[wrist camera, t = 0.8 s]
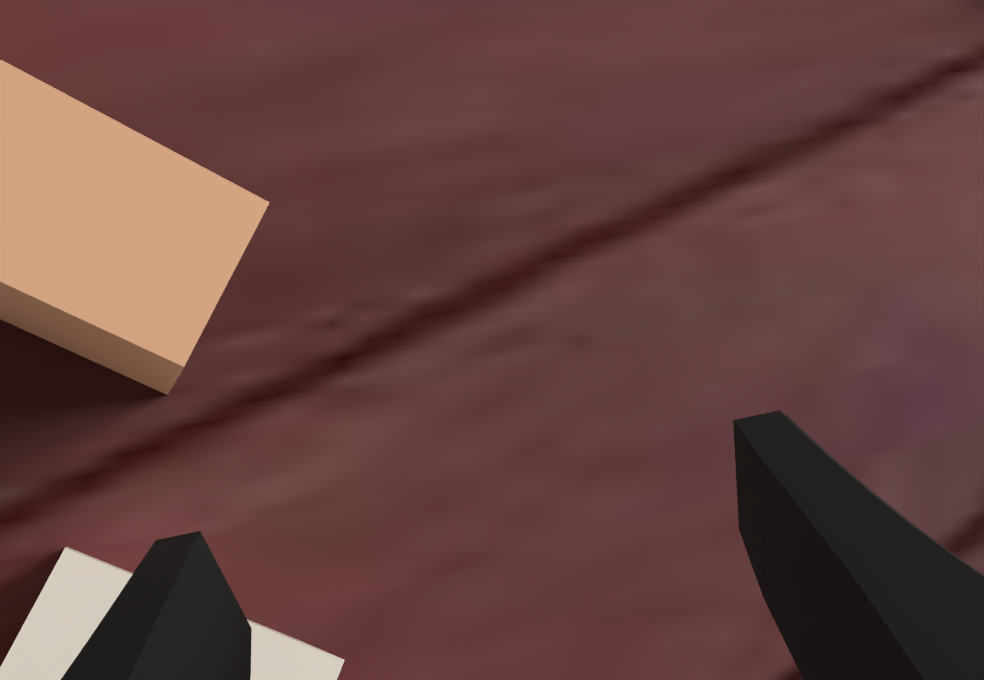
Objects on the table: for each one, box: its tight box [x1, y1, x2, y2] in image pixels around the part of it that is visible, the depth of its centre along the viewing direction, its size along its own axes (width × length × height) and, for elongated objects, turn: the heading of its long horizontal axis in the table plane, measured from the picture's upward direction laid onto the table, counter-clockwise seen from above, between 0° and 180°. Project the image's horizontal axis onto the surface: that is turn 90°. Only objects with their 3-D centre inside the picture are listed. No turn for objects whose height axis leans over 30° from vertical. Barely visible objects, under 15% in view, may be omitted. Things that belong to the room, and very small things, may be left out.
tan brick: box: [0, 60, 269, 395], centre depth 23 cm, size 4×6×4 cm
